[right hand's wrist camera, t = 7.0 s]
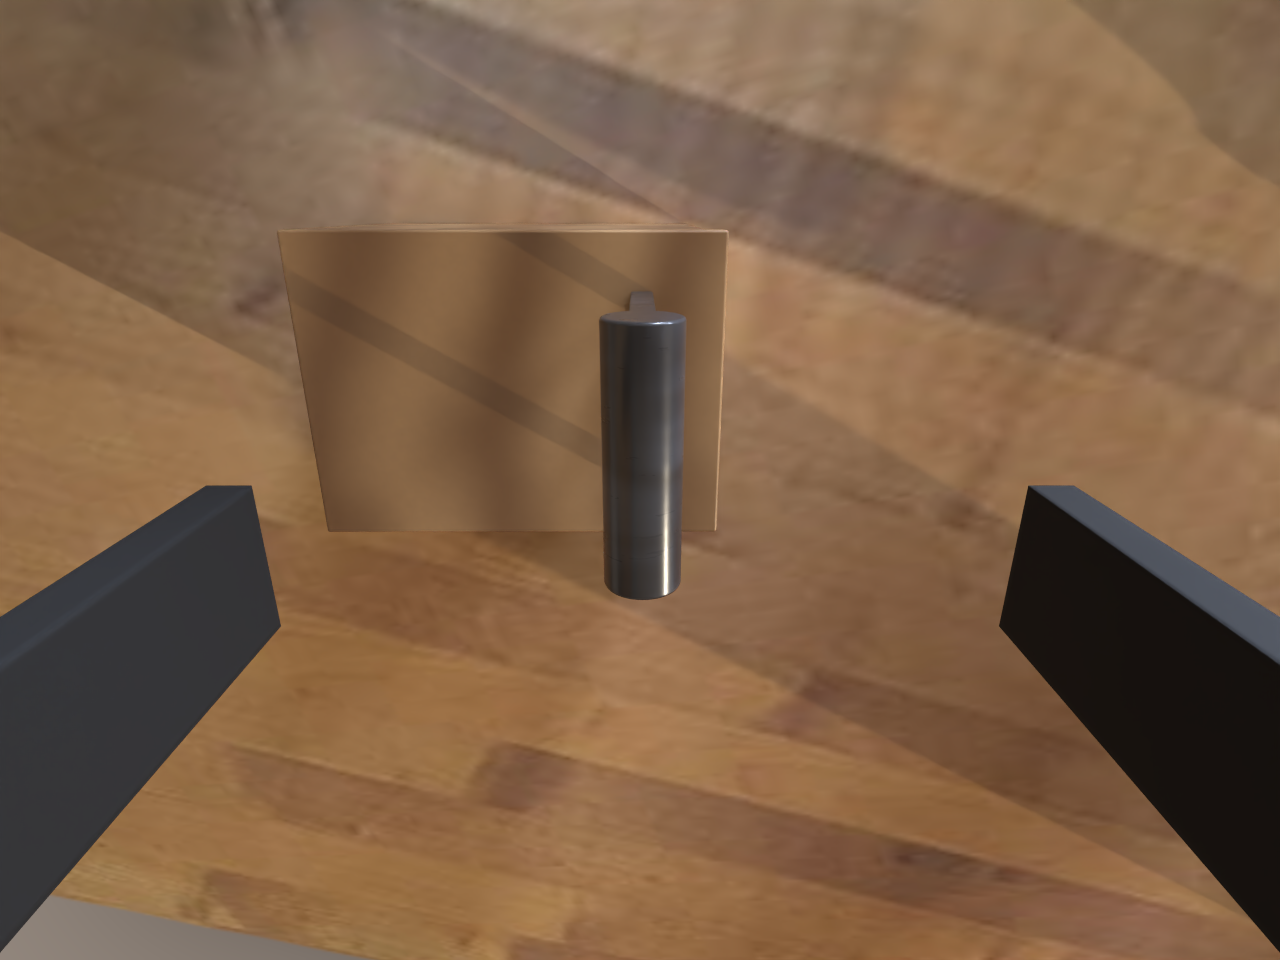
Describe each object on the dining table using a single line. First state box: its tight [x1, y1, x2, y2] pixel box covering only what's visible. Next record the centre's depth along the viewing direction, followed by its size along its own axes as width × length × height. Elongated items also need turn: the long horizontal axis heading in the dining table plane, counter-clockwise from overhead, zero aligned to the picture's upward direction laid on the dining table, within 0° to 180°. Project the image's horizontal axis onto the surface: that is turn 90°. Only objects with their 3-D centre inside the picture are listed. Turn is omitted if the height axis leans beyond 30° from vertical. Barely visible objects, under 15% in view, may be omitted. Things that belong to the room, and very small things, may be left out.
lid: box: [277, 229, 729, 600], centre depth 20 cm, size 14×10×8 cm
